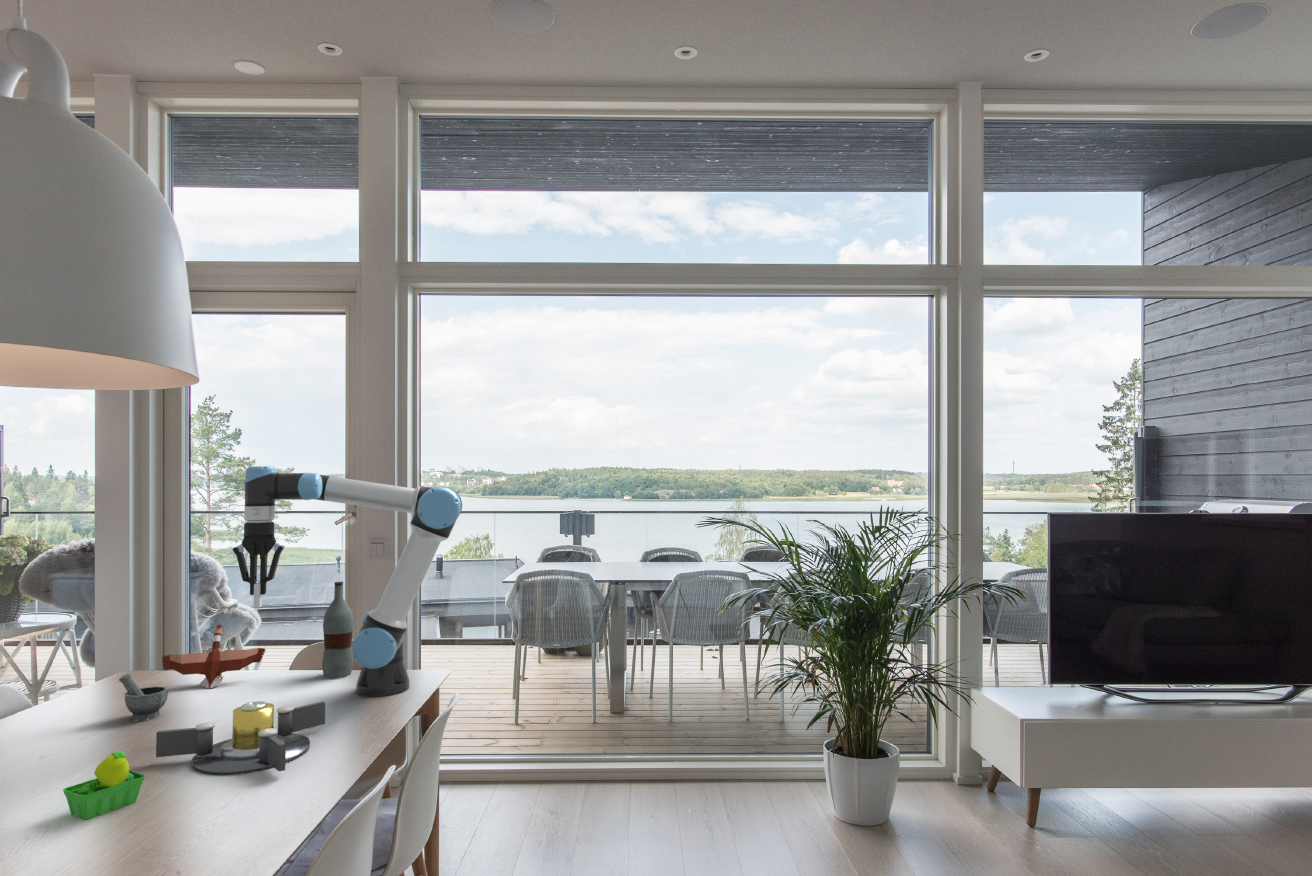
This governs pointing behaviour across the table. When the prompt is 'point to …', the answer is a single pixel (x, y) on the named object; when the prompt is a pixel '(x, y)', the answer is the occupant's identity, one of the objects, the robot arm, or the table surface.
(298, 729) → the knob near arm
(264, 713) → the tribrach
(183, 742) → the knob far
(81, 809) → the fruit basket
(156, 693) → the mortar and pestle
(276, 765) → the knob left
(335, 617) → the bottle
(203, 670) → the decorative bird
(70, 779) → the table surface
